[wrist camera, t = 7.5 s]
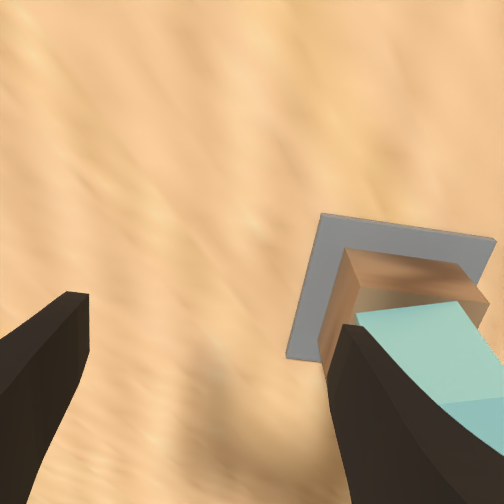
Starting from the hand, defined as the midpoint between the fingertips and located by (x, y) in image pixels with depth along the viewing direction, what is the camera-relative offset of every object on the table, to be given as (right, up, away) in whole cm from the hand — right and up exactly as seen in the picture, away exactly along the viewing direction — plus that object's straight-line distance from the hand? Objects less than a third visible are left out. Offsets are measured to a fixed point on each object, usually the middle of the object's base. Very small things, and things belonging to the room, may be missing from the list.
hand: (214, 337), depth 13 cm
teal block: (+8, -2, +9) cm, 12 cm away
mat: (+8, 0, +12) cm, 15 cm away
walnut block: (+8, 0, +12) cm, 14 cm away
